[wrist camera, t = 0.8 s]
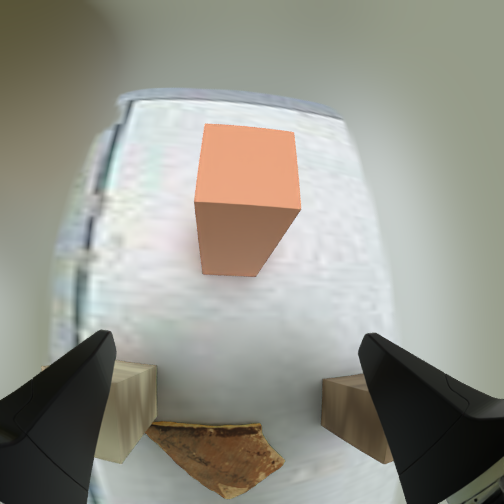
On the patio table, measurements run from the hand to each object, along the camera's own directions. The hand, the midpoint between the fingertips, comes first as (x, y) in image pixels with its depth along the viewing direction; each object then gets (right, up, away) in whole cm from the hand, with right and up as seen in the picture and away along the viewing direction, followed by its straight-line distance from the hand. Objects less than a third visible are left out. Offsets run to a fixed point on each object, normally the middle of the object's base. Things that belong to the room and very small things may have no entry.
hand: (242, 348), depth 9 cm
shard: (-3, -14, +9) cm, 18 cm away
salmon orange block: (-2, +3, +15) cm, 15 cm away
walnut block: (+8, -10, +12) cm, 18 cm away
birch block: (-9, -8, +10) cm, 16 cm away
